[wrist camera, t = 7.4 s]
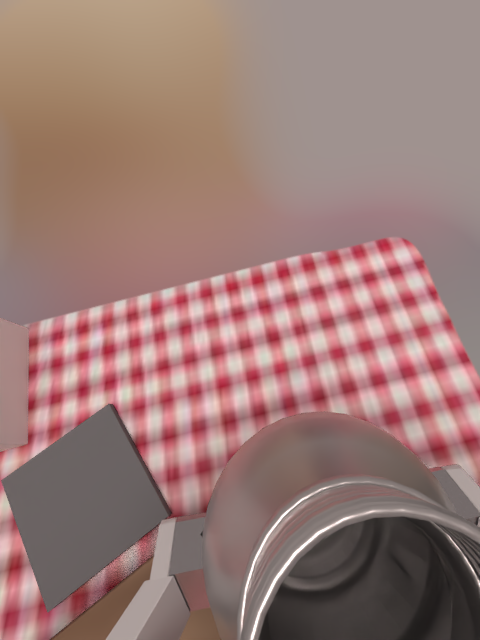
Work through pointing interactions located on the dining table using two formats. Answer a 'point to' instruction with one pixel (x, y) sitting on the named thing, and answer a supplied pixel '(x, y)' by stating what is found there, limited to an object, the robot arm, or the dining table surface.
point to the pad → (83, 504)
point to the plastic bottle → (337, 539)
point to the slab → (98, 620)
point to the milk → (13, 385)
